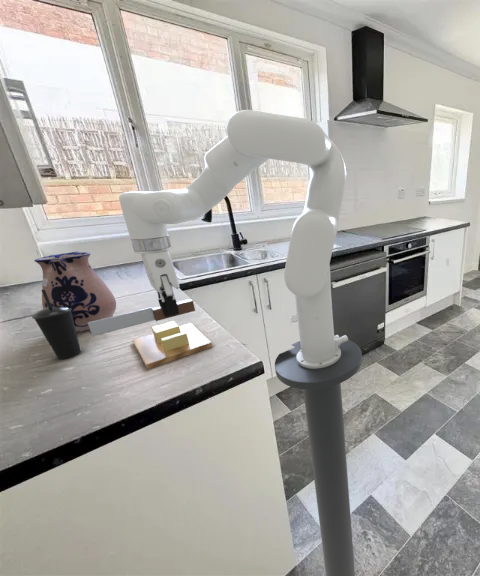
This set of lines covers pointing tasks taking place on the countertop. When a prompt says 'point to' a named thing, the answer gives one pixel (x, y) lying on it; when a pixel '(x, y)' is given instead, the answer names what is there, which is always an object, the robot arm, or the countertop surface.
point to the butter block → (165, 330)
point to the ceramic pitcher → (76, 288)
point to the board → (157, 356)
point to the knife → (136, 318)
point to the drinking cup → (58, 329)
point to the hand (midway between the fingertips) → (170, 313)
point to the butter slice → (174, 341)
